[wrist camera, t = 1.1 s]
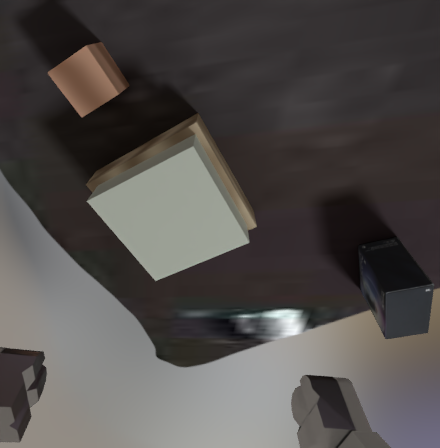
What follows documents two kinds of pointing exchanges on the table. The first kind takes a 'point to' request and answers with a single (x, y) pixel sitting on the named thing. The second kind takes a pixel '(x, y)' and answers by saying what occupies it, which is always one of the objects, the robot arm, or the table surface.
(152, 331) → the table surface
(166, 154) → the sage block
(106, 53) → the terracotta cube
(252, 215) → the birch slab
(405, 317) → the small box
